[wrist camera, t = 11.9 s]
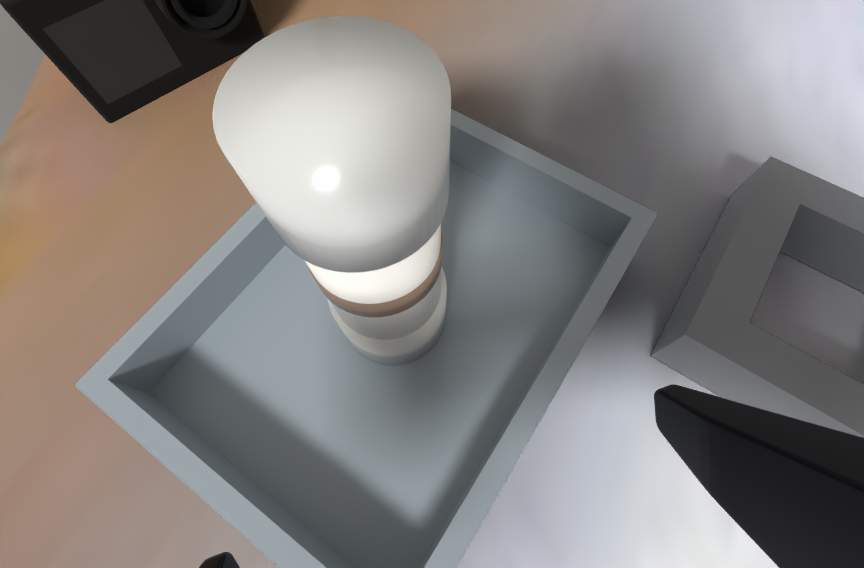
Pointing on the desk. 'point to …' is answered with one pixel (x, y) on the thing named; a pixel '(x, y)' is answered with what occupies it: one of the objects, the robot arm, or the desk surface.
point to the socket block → (743, 285)
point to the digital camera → (135, 44)
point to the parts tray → (374, 369)
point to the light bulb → (350, 169)
